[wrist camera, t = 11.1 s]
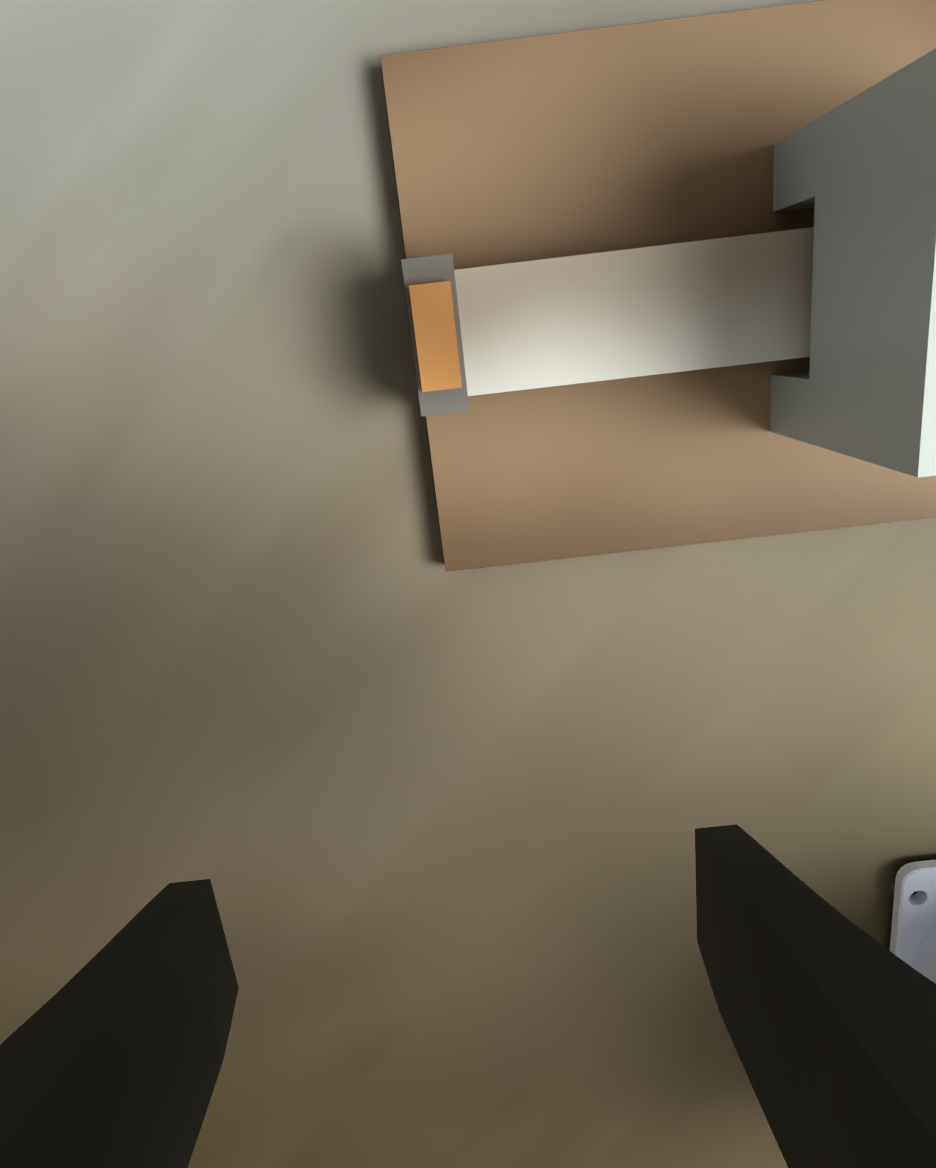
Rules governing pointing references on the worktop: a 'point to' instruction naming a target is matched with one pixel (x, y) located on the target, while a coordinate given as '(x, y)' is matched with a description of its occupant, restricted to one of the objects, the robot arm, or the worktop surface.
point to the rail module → (867, 275)
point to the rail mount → (627, 278)
